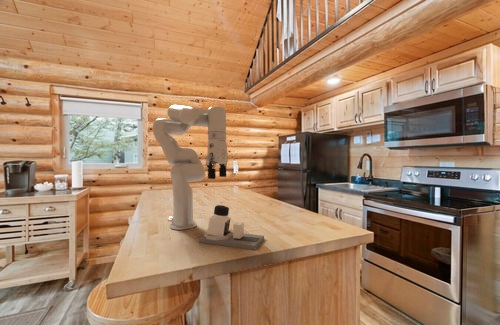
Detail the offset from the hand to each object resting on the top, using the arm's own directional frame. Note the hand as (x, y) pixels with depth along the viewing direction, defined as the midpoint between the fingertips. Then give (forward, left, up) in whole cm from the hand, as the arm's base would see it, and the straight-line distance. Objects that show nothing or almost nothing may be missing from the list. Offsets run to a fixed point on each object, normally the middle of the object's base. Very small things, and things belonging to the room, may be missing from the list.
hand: (217, 177), depth 100 cm
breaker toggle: (+9, 0, -24) cm, 26 cm away
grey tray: (+6, 0, -26) cm, 27 cm away
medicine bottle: (0, 0, -24) cm, 24 cm away
